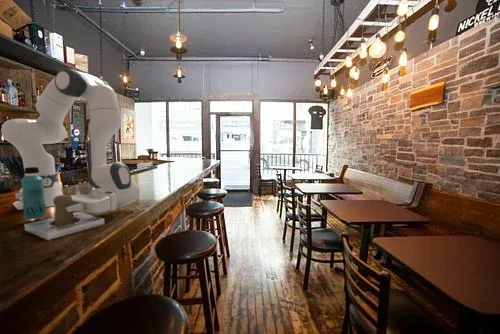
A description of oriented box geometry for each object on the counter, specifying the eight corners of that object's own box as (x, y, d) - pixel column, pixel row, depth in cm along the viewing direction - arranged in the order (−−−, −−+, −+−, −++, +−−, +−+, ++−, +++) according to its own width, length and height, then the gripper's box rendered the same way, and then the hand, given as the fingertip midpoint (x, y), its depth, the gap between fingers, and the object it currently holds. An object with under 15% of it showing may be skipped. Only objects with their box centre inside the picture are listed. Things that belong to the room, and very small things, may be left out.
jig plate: (24, 230, 87) (24, 224, 87) (79, 217, 101) (79, 212, 101) (48, 240, 78) (47, 233, 78) (104, 224, 93) (104, 218, 92)
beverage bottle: (20, 222, 96) (14, 167, 94) (40, 217, 102) (35, 166, 100) (31, 224, 93) (25, 168, 91) (51, 219, 99) (46, 166, 97)
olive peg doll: (68, 229, 87) (65, 197, 86) (49, 229, 87) (46, 197, 86) (79, 223, 93) (77, 193, 92) (62, 224, 93) (59, 193, 92)
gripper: (83, 189, 105) (43, 196, 93) (117, 193, 96) (78, 202, 84) (84, 204, 106) (45, 213, 93) (118, 210, 97) (80, 221, 84)
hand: (61, 208), depth 88 cm, fingers open, 5 cm apart
